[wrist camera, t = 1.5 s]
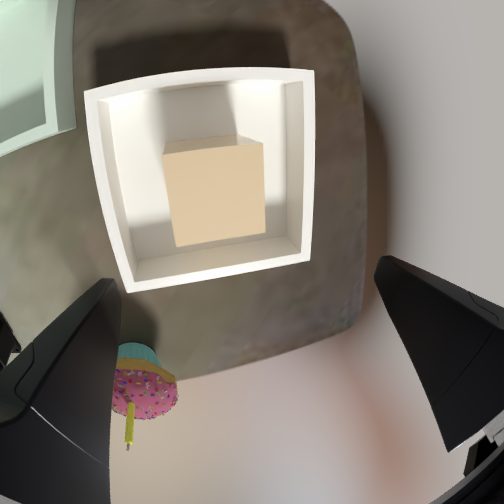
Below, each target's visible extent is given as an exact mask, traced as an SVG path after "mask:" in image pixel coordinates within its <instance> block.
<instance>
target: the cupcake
mask: <svg viewBox="0 0 504 504" xmlns="http://www.w3.org/2000/svg"><path fill="white" fill-rule="evenodd" d="M177 400H178V393H177V384H176V378H175V376H174V375H172V374H171V373H169V372H167V371H166V370H164V369H162V367H161V365H160V363H159V361H158V359H157V356H156V354H155V352H154V351H153V350H152V349H151V348H149V347H148V346H146V345H143V344H140V343H125V344H122V345H120V346H119V349H118V357H117V364H116V371H115V379H114V388H113V398H112V410H113V411H114V412H118V413H119V414H122V415H124V416H127V419H126V432H125V443H126V444H127V451H129V446H130V445H132V444H133V426H134V419H137V418H138V419H143V420H145V419H151V418H154V417H157V416H159V415H161V414H162V415H164V413H166V412H167V411H168V410H170V409H171V407H173V406H174V405H175V404H176V402H177Z"/></svg>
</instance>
